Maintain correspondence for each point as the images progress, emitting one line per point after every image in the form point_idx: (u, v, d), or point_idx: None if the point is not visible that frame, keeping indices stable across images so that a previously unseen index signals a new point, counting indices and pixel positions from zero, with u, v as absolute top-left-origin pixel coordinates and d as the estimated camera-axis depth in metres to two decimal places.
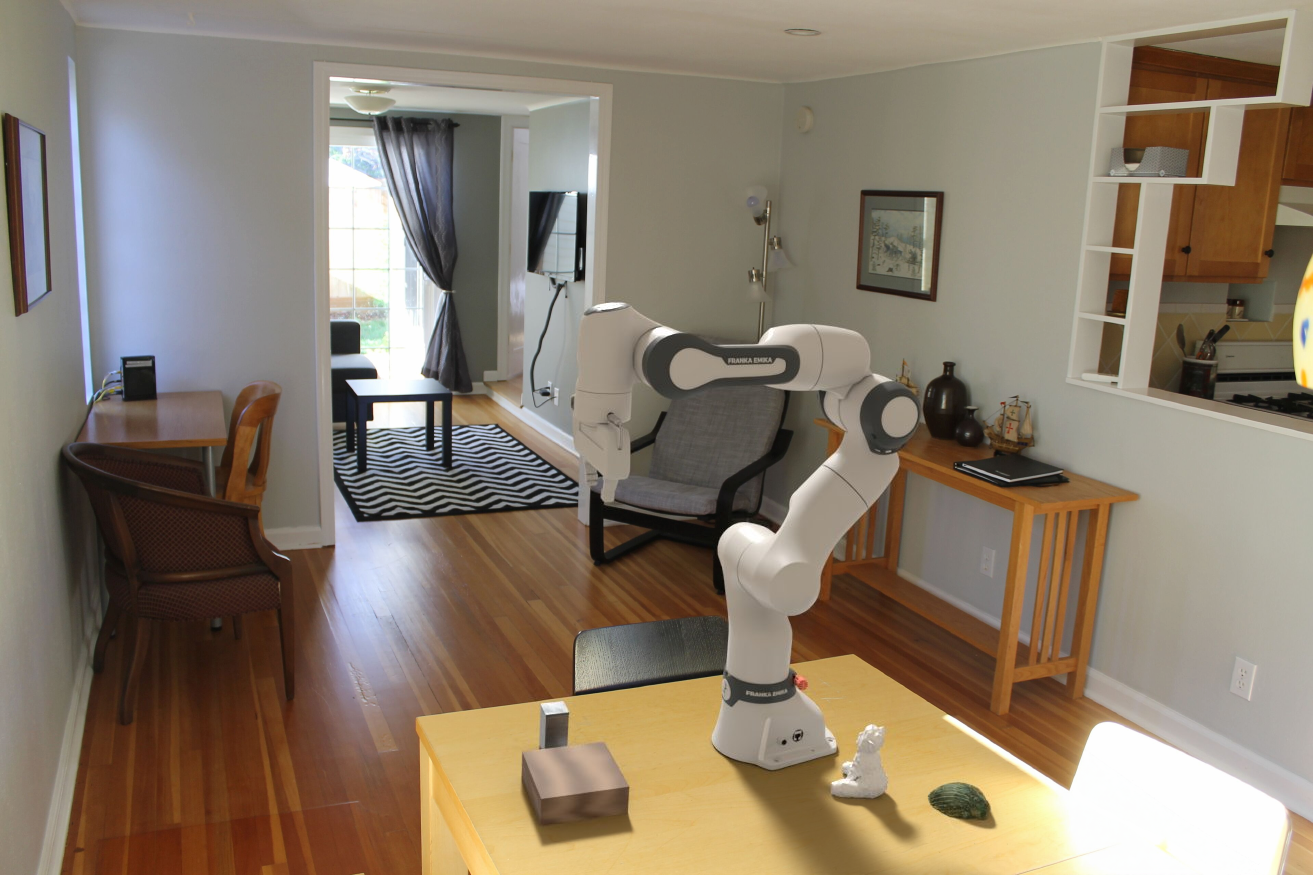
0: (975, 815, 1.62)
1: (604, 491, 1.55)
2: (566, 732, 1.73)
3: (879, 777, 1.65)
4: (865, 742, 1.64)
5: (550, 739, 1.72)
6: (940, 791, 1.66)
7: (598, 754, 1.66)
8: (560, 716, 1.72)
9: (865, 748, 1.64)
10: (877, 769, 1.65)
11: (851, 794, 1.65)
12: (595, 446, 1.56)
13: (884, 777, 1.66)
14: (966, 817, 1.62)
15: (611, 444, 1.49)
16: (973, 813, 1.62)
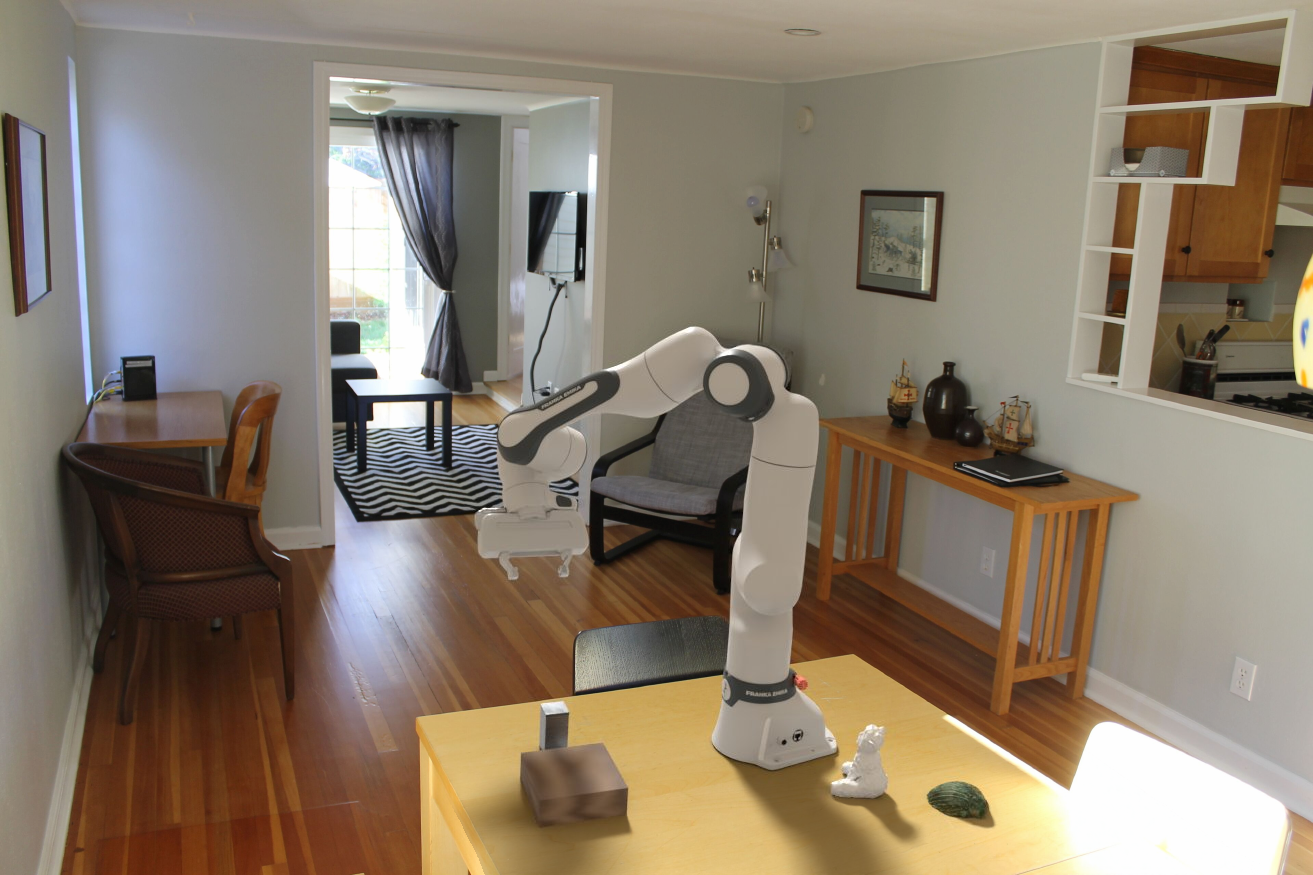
0: (974, 814, 1.62)
1: (507, 571, 1.79)
2: (566, 732, 1.73)
3: (879, 777, 1.65)
4: (865, 742, 1.64)
5: (550, 739, 1.72)
6: (939, 790, 1.66)
7: (597, 755, 1.65)
8: (560, 716, 1.72)
9: (865, 748, 1.64)
10: (877, 769, 1.65)
11: (851, 794, 1.65)
12: None
13: (884, 777, 1.66)
14: (965, 816, 1.62)
15: (478, 530, 1.81)
16: (972, 812, 1.62)
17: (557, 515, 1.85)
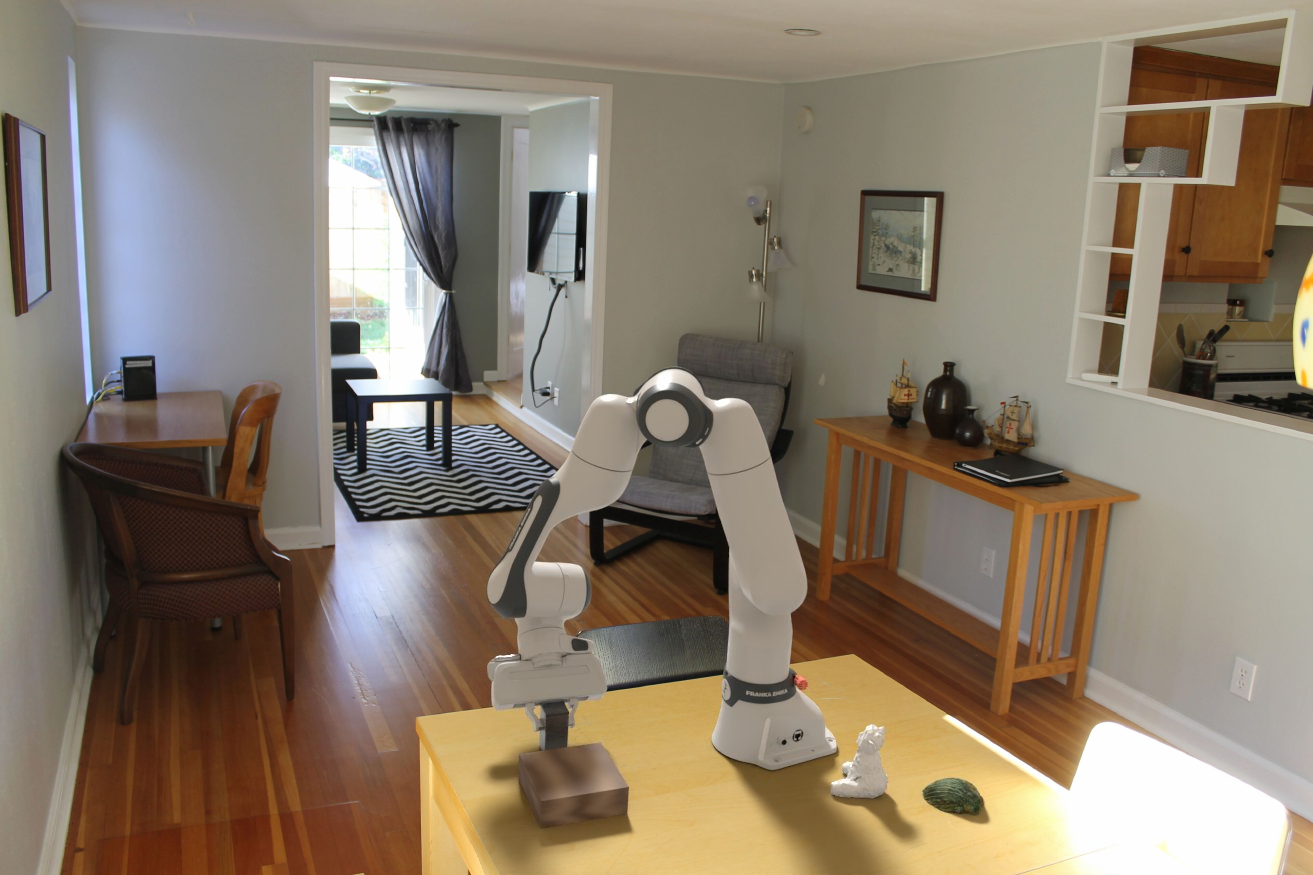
0: (968, 810, 1.63)
1: None
2: (566, 732, 1.73)
3: (879, 778, 1.65)
4: (865, 743, 1.64)
5: (550, 739, 1.72)
6: (934, 786, 1.67)
7: (596, 754, 1.65)
8: (560, 716, 1.72)
9: (865, 748, 1.64)
10: (877, 769, 1.65)
11: (851, 794, 1.65)
12: None
13: (884, 777, 1.66)
14: (959, 812, 1.63)
15: None
16: (966, 808, 1.63)
17: (573, 660, 1.78)
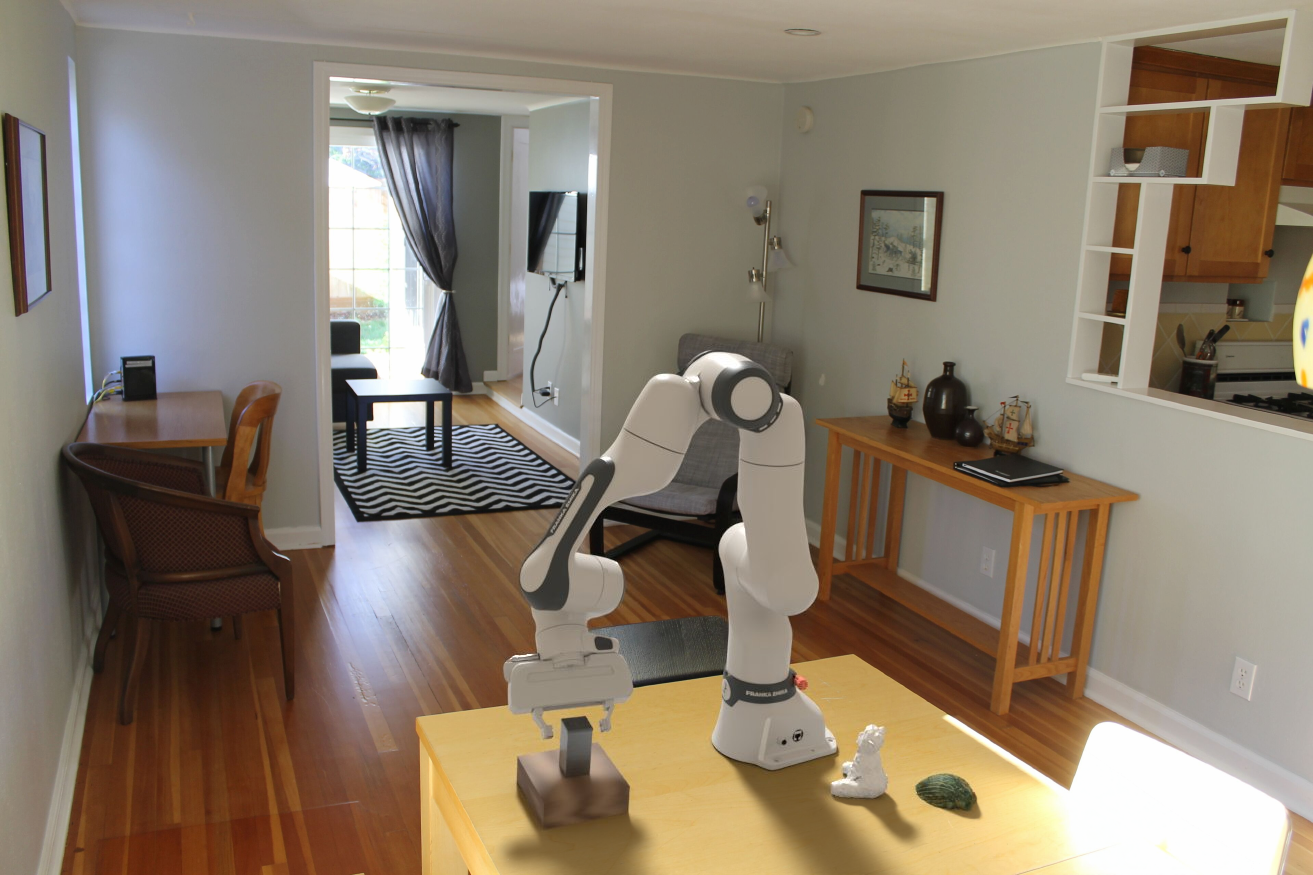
0: (960, 806, 1.64)
1: (540, 728, 1.59)
2: (589, 750, 1.59)
3: (879, 778, 1.65)
4: (865, 743, 1.64)
5: (572, 757, 1.58)
6: (927, 781, 1.68)
7: (594, 754, 1.66)
8: (583, 733, 1.58)
9: (865, 748, 1.64)
10: (877, 769, 1.65)
11: (851, 794, 1.65)
12: None
13: (884, 777, 1.66)
14: (951, 808, 1.64)
15: None
16: (958, 804, 1.64)
17: (596, 660, 1.64)
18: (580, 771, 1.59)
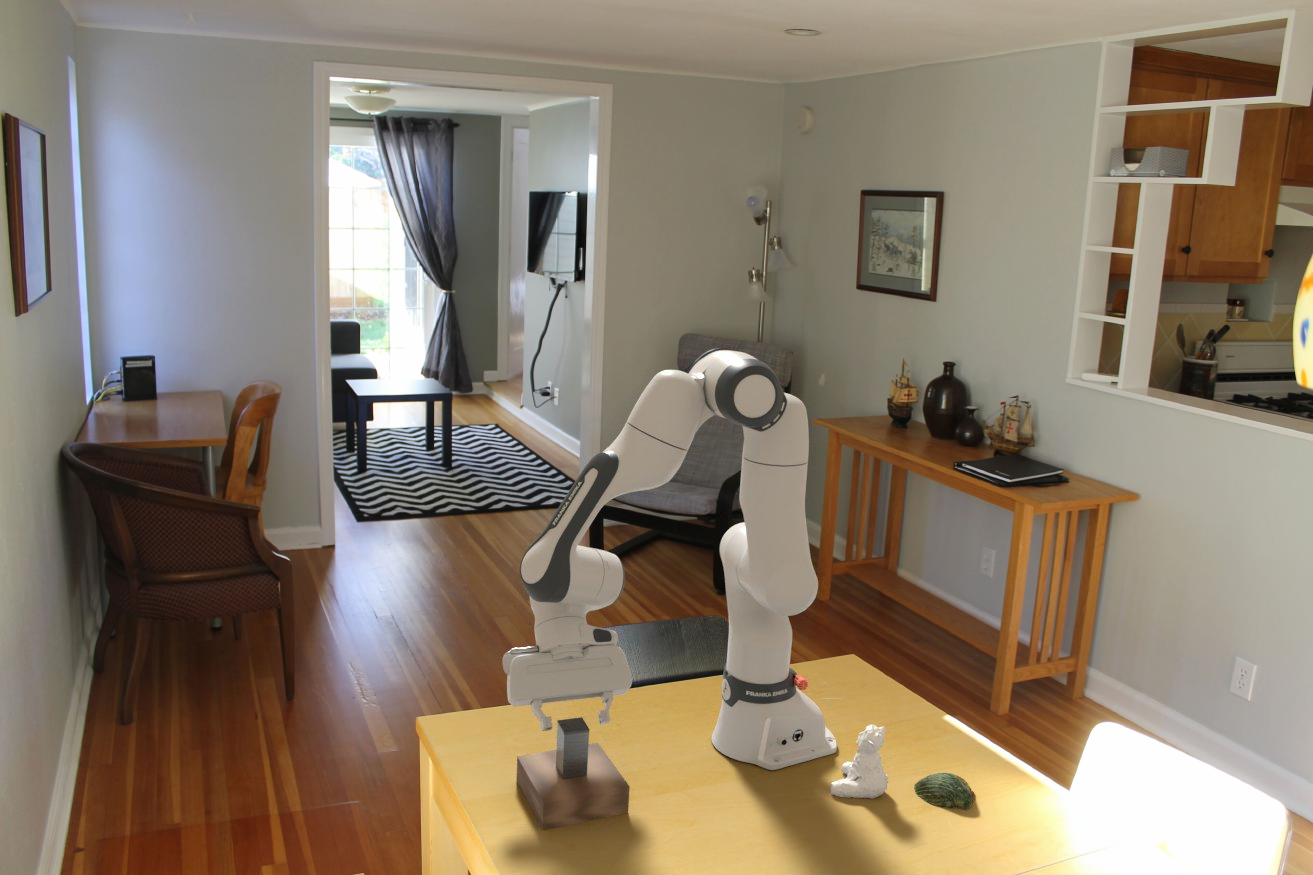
0: (958, 805, 1.64)
1: (540, 720, 1.60)
2: (586, 751, 1.58)
3: (879, 778, 1.65)
4: (865, 743, 1.64)
5: (569, 759, 1.58)
6: (926, 780, 1.69)
7: (594, 755, 1.65)
8: (580, 734, 1.57)
9: (865, 748, 1.64)
10: (877, 769, 1.65)
11: (851, 794, 1.65)
12: None
13: (884, 777, 1.66)
14: (949, 807, 1.64)
15: None
16: (956, 803, 1.64)
17: (595, 652, 1.65)
18: (577, 773, 1.59)
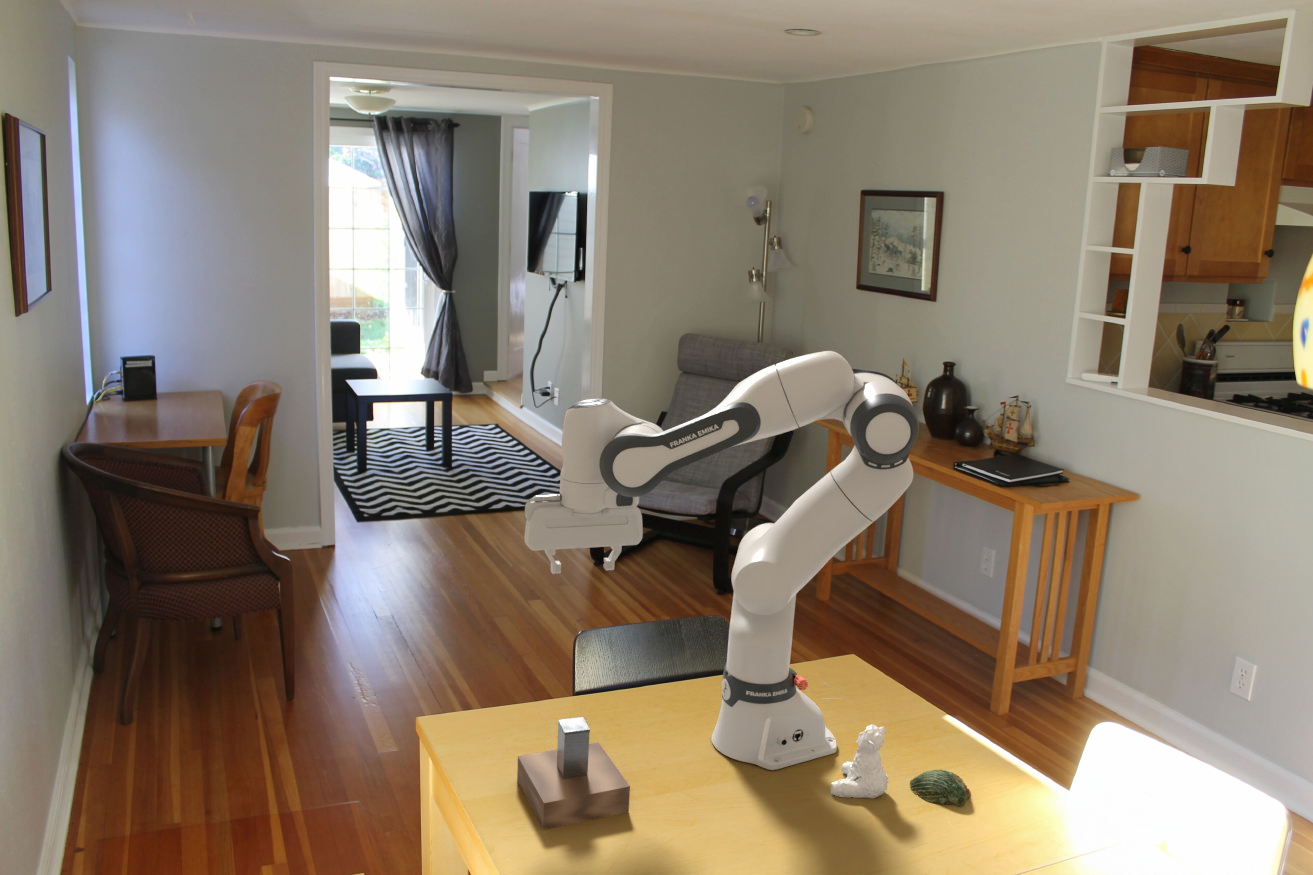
0: (952, 801, 1.65)
1: None
2: (586, 751, 1.58)
3: (879, 778, 1.65)
4: (865, 743, 1.64)
5: (569, 758, 1.58)
6: (921, 777, 1.70)
7: (595, 755, 1.66)
8: (580, 734, 1.57)
9: (865, 748, 1.64)
10: (877, 769, 1.65)
11: (851, 794, 1.65)
12: None
13: (884, 777, 1.66)
14: (943, 803, 1.65)
15: None
16: (950, 799, 1.65)
17: (614, 513, 1.70)
18: (578, 772, 1.59)
